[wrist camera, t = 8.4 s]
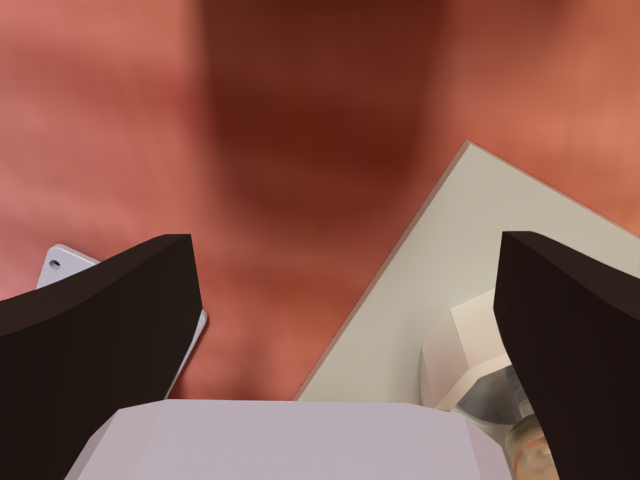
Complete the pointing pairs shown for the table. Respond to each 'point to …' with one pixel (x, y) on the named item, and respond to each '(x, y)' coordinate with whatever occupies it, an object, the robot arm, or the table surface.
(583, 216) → the white square-based fixture
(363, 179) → the table surface
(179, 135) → the table surface
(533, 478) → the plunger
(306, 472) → the robot arm
